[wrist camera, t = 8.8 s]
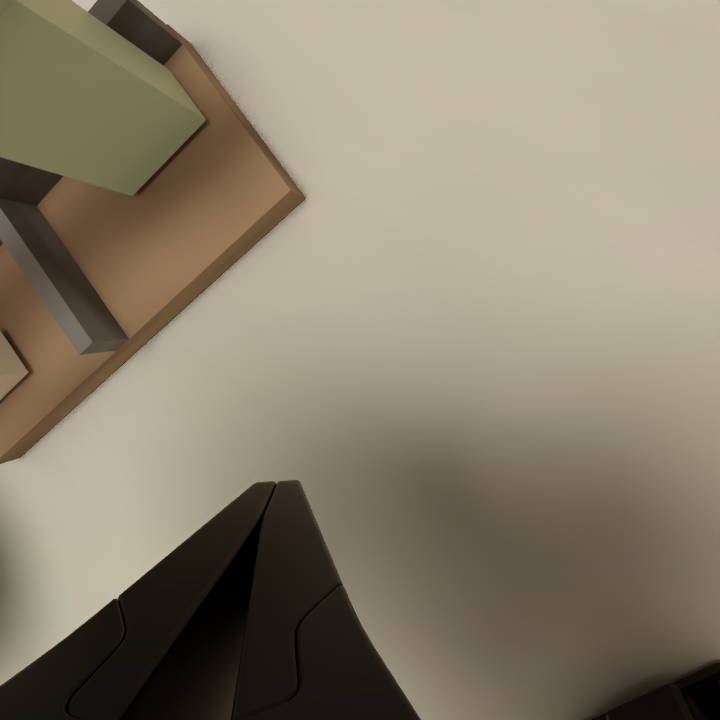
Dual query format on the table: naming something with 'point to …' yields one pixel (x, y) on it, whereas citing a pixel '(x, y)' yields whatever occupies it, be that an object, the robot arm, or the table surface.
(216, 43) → the table surface
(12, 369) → the beige rectangular block
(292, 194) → the brown wooden rack
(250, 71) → the table surface
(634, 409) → the table surface
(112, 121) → the pale green tall block
